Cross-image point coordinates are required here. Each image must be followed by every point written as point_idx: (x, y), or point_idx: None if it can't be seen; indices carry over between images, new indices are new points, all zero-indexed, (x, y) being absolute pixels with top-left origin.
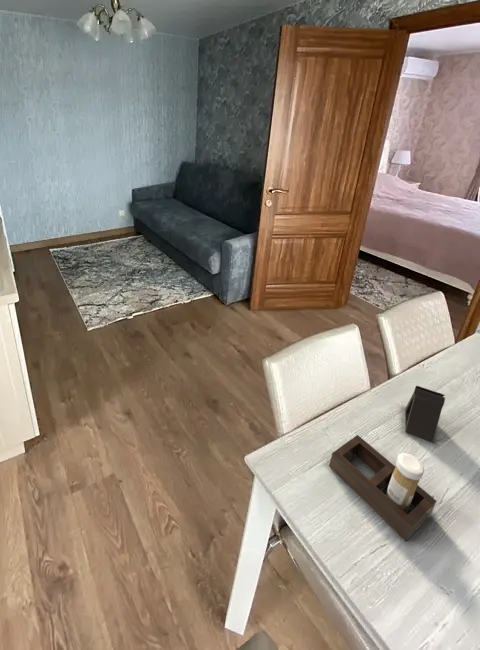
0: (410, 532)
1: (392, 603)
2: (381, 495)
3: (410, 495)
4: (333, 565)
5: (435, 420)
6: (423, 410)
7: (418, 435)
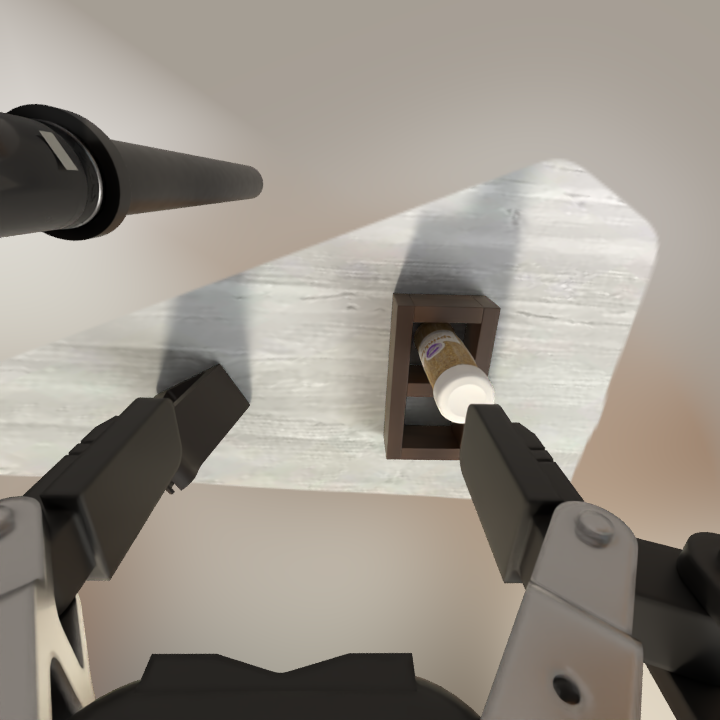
0: (485, 301)
1: (604, 259)
2: (482, 369)
3: (458, 344)
4: (619, 340)
5: (189, 400)
6: (198, 431)
7: (234, 388)
